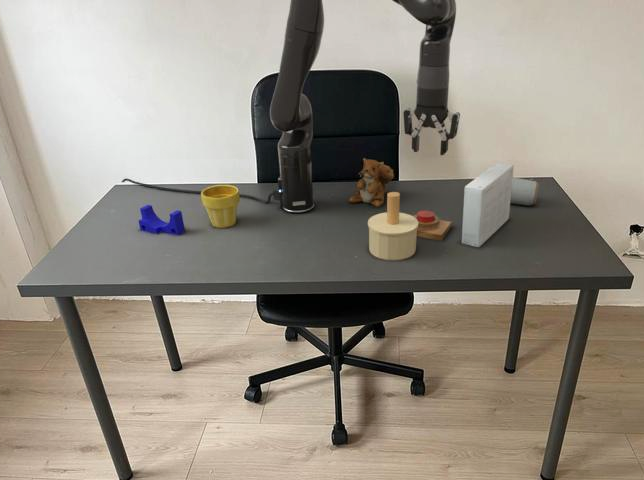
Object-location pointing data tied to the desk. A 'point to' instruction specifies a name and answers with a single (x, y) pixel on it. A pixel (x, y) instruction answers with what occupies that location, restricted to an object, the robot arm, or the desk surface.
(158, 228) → the blue cradle stand
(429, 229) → the button block
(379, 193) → the stuffed squirrel
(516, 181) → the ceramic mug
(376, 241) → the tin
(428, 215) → the button
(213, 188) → the flower pot
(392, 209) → the lid
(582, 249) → the desk surface
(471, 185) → the skincare box
